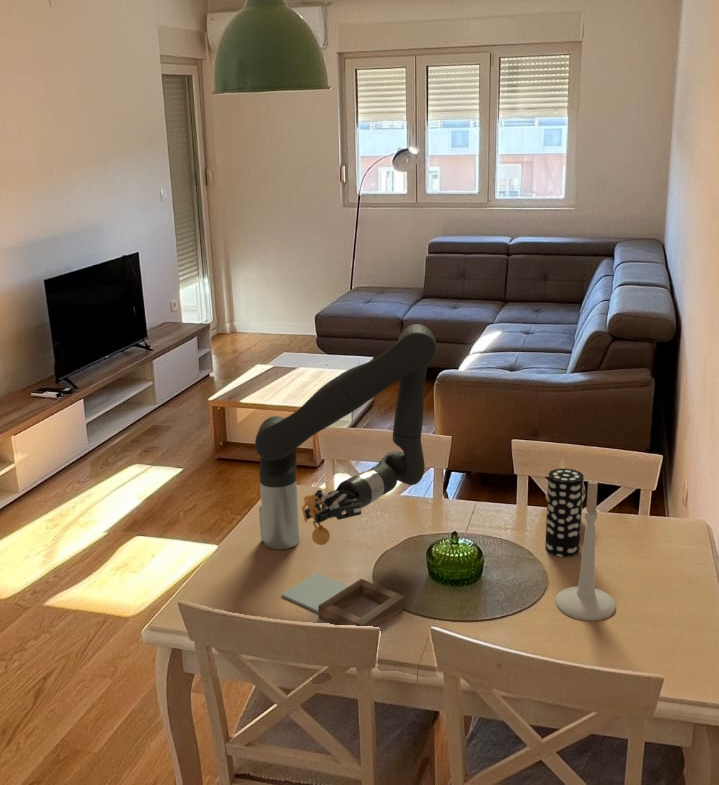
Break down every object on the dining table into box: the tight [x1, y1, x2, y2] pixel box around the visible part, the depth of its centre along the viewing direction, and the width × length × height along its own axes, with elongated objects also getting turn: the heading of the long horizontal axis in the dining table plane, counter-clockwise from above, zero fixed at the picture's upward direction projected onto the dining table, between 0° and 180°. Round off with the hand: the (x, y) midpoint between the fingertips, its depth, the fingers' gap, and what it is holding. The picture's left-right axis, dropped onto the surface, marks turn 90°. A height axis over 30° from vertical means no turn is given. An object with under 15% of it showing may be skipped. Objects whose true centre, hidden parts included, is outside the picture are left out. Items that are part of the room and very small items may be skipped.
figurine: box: [301, 493, 331, 546], centre depth 192 cm, size 8×6×12 cm
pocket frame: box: [318, 578, 405, 628], centre depth 189 cm, size 12×14×3 cm
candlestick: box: [555, 479, 617, 621], centre depth 186 cm, size 13×13×30 cm
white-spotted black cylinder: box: [544, 468, 585, 558], centre depth 212 cm, size 8×8×20 cm
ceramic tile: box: [281, 572, 350, 614], centre depth 197 cm, size 12×12×1 cm
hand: (311, 516), depth 190 cm, fingers closed on figurine, 2 cm apart
